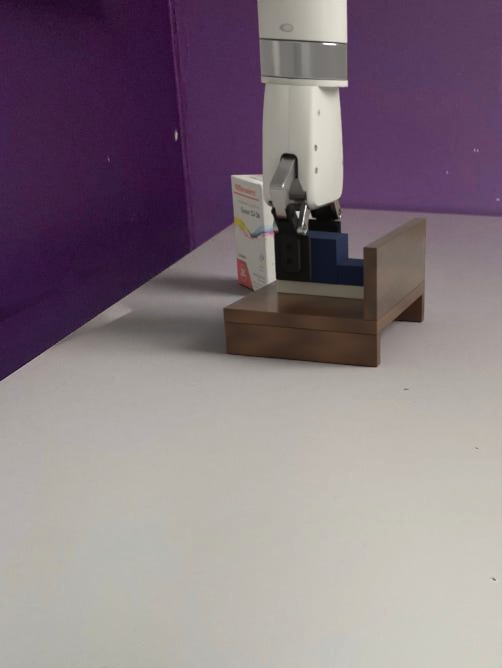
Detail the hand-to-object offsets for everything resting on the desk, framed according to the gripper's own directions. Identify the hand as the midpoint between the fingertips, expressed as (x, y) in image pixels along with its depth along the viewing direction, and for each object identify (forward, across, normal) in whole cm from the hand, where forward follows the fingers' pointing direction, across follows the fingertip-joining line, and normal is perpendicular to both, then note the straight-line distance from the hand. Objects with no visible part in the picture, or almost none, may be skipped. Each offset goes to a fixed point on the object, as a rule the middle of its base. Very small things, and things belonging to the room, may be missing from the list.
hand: (310, 271), depth 99 cm
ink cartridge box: (+6, -19, -11) cm, 23 cm away
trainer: (+2, 0, +2) cm, 2 cm away
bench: (+6, 0, +2) cm, 6 cm away
